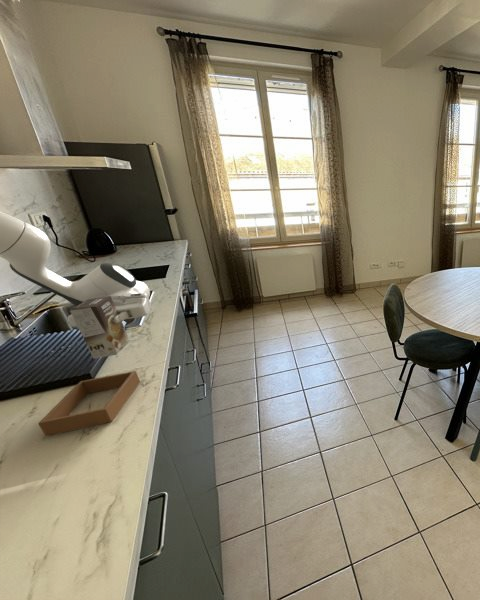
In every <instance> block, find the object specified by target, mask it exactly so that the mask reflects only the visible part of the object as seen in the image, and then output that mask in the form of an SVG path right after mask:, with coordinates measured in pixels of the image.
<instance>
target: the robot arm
mask: <svg viewBox="0 0 480 600" xmlns="http://www.w3.org/2000/svg"><path fill="white" fill-rule="evenodd" d="M51 249H52V245H51V240H50V238H49V236H48V235H47V234H46V233H45V232H44V231H43V230H41V229H40V228H38V227H37V226H35V225H33V224H31V223H28V222H26V221H24V220H22V219H19V218H17V217H15V216H13V215H10V214H8V213H5V212H3V211H0V258H2V259H4V260H6V261H7V262H8V263H9V268H10V269H11V271H13V272H14V273H15V274H16V275H17V276H20V277H21V278H23V279H25V280H27V281H28V282H30V283H32V284H35V285H36V286H39V287H40V288H43V289H45V290H46V291H49V292H50V293H53V294H55V295H57V296H59V297H60V298H63V299H65V300H66V301H68V302H69V303H70V304H72V305H73V306H74V307H76V306H77V305H79V304H81V303H82V302H84V301H86V300H87V299H94V298H99V297H106V296H111V297H112V300H113V302H114V304H115V307H116V309H117V310H116V312H118V314H119V315H117V316H113V317H112V318H111V319H110V320H111V321H112V323H113V324H114V323H119V322H120V321H122V322H123V321H125V320H131V319H136V318H137V319H138V318H142V317H146V316H148V315H149V314H150V313H151V312H152V311H153V308H152V304H151V300H150V299H149V298H150V295H151V290H150V288H149V286H148V285H147V284H146V283H145V282H143V281H140V280H137V279H136V277H135V276H134V275H133V274H132V273H131V271H129V270H128V269H127V268H125V267H124V266H122V265H119V264H117V263H111V262H103V263H100V265H98V266H96V267H95V268H93V269H92V270H90V271H89V273H87V274H86V275H84V276H83V277H82V278H80V279H78V280H76V281H71V280H68V279H67V278H64V277H62V276H61V275H60V274H57V273H55V272H54V271H52V270H50V269H48V268H47V267H46V264H47V261H48V260H49V258H50V256H51ZM67 321H68V323H69V325H70V326H71V327H72V328H78V326H77V324H76V322H75V320H74V318H73V316H72V313H71V314H70V315H68V316H67Z"/></svg>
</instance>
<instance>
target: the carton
mask: <svg viewBox="0 0 480 600" xmlns="http://www.w3.org/2000/svg"><path fill="white" fill-rule="evenodd" d="M140 383H141V379H140V378H139V376H138V373H137V370H132V371H126V372H122V373H118V374H111V375H105V376H101V377H96V378H90V379H85V380H80V381H79V382H78V383H77V384H76V385H75V386H74V387H73V388H72V389H71V390H70V391H69V392H68V393H67V394H66V395H65V396H64V397H63V398H62V399H61V400H60V401H59V402H58V403H57V404H56V405H55V406H54V407H53V408H52V409H51V410H50V411H49V412H48V413H46V415H45V416H43V418H42V419H41V420H40V421H38V423H37V425H38V426H39V428H40V429H41V431H42V433H43V434H44V436H45V437H48V436H54V435H57V434H62V433H63V434H64V433H67V432H71V431H76V430H80V429H81V430H82V429H84V428H85V429H86V428H90V427H95V426H100V425H104V424H108V423H112V422H113V421H114V419H115V418H116V417H117V415H118V414H119V412H120V411H121V410H122V408H123V407H124V405H126V403H127V401H128V400H129V398H130V397H131V396H132V395H133V393H134V392H135V390H136V389H137V388H138V385H140ZM112 389H113V390H114V389H116V391H115V393H114V394H113V395H112V397H110V399H109V400H108V402H107V403H106V404H105V405H104V406H103V407H101V408H97V409H92V410H88V411H82V412H78V413H74V414H71V413H72V411H74V409H75V408H76V407H77V406H78V405H79V404H80V403H81V402H82V401H83V400H84V399H85V397H86V396H87V395H89V394H92V393H97V392H102V391H107V390H112Z"/></svg>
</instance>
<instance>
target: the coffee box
mask: <svg viewBox="0 0 480 600" xmlns="http://www.w3.org/2000/svg"><path fill="white" fill-rule="evenodd" d="M116 310H117V309H116V307H115V304H114V302H113V300H112V297H111V296H106V297H99V298H94V299H87V300H86V301H84V302H82V303H81V304H79V305H77V306H74V307H72V308H71V309H69V311H70V313H71V314H72V316H73V318H74V320H75V322H76V324H77V326H78V327H77V328H78V330H79V332H80V334H81V337H82V338H83V340H84V342H85V344H86V346H87V348H88V350H89V352H90V354H91V357H92V359H95V360H96V359H101V358H105V357H111V356H117V355H118V354H119V353H120V352H121V351H122V350H123V349H124V348H125V347H126V346H127V345H129V343H130V342H131V339H130V338H129V337H130V336H129V335H128V332H127V330H126V328H125V325H124V323H123V320H122V321H120V322H119V323H114V324H113V323H112V321H111V320H110V319H111V318H112V317H113V316H117V315H119V314H118V312H116Z"/></svg>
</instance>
